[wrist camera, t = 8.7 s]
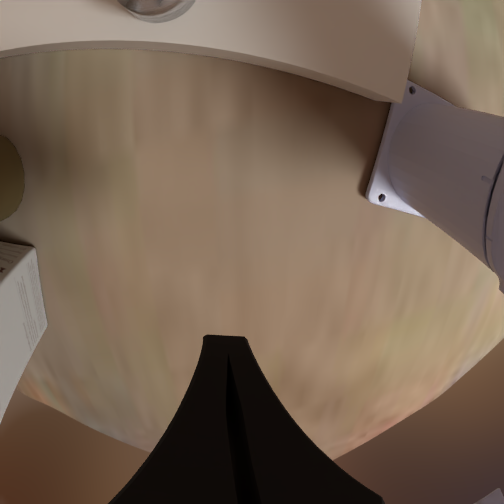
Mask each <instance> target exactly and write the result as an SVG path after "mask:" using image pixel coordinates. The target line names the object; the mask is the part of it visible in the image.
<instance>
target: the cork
mask: <svg viewBox="0 0 504 504" xmlns="http://www.w3.org/2000/svg"><path fill="white" fill-rule="evenodd" d="M23 191H24V170H23V166H22V161H21V158H20V156H19V154H18V152H17V150H16V148H15V146H14V145H13V144H12V143H11V142H10V141H9V140H8V139H7V138H6V137H4V136H2V135H0V221H2V220H4V219H6V218H8V217H9V216H10V215H12V214H13V213H14V212H15V211H16V210H17V208H18V206H19V204H20V202H21V201H22V196H23Z"/></svg>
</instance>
